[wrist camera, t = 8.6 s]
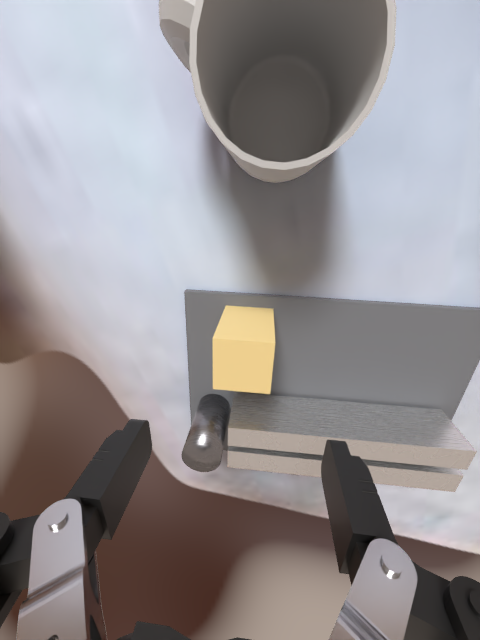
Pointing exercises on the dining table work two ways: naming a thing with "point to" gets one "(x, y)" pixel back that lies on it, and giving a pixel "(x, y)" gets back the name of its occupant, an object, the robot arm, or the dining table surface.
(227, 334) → the block
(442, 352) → the mat
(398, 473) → the base
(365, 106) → the cup
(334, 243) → the dining table surface
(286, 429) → the bar
